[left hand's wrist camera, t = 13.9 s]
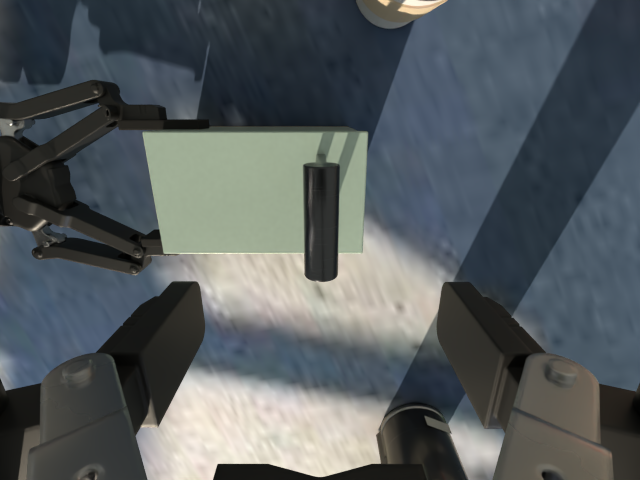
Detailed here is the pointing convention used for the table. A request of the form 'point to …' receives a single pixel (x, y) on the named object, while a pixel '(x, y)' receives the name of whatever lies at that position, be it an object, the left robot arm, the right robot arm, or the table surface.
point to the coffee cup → (395, 11)
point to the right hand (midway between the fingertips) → (210, 184)
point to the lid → (261, 193)
